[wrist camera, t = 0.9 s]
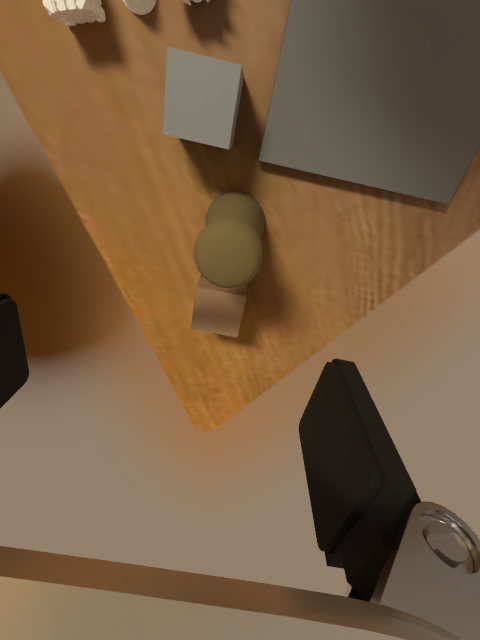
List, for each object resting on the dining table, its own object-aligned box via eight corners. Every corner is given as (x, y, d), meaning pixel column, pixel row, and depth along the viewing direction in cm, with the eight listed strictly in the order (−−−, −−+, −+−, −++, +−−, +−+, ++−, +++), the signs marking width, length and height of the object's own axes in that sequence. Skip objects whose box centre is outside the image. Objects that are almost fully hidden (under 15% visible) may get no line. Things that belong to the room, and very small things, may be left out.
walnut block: (204, 267, 33) (196, 286, 29) (248, 276, 33) (247, 296, 29) (198, 305, 36) (190, 328, 31) (239, 313, 36) (237, 337, 32)
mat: (328, -178, 18) (331, -194, 17) (598, -91, 19) (615, -102, 18) (258, 159, 27) (258, 160, 26) (442, 202, 28) (448, 204, 27)
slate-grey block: (182, 61, 24) (167, 46, 19) (244, 77, 24) (241, 65, 20) (177, 134, 26) (162, 134, 22) (232, 147, 27) (228, 149, 22)
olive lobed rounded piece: (277, 227, 30) (287, 269, 21) (231, 262, 32) (222, 314, 23) (239, 176, 28) (232, 197, 19) (193, 218, 30) (166, 255, 21)
